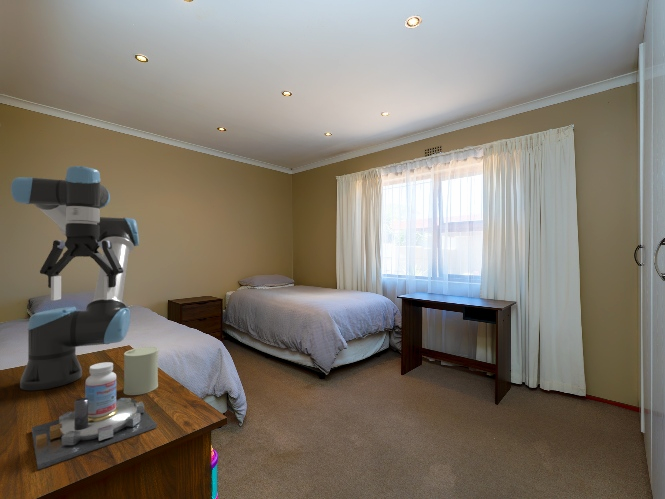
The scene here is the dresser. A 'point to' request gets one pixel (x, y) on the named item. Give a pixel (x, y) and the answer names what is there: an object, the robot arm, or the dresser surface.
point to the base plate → (56, 452)
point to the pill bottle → (101, 390)
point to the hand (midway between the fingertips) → (82, 299)
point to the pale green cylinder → (140, 370)
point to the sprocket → (95, 422)
